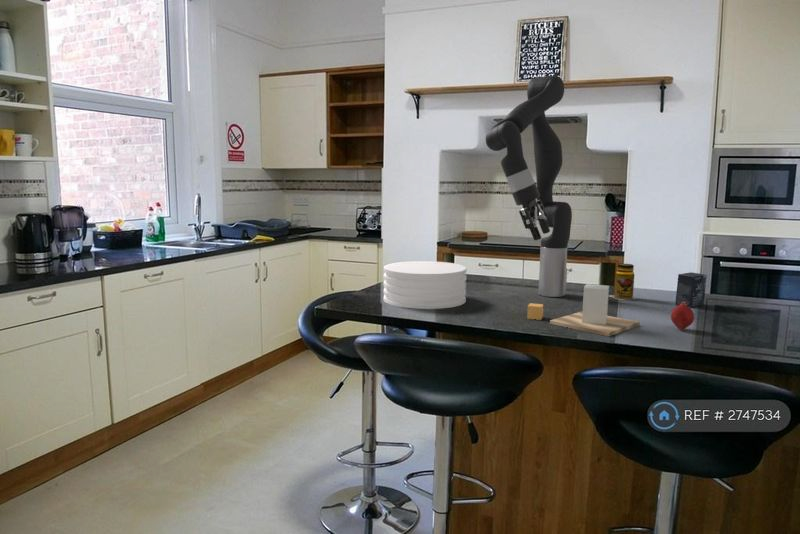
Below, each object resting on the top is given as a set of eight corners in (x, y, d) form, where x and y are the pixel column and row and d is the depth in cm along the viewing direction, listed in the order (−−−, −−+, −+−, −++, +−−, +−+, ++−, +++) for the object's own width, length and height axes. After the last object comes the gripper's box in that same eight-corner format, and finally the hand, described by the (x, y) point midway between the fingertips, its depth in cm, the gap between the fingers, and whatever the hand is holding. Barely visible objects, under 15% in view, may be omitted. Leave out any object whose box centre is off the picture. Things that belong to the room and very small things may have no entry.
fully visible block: (529, 316, 177) (530, 303, 177) (542, 317, 176) (543, 304, 175) (527, 319, 174) (527, 305, 173) (540, 320, 172) (541, 307, 171)
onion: (665, 327, 165) (667, 299, 164) (685, 327, 165) (687, 299, 164) (677, 332, 159) (679, 303, 158) (697, 332, 160) (699, 303, 158)
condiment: (622, 300, 200) (625, 266, 198) (605, 296, 208) (607, 262, 206) (639, 299, 203) (641, 265, 201) (621, 294, 211) (623, 261, 209)
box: (691, 308, 189) (694, 276, 188) (674, 305, 194) (677, 273, 192) (704, 305, 194) (707, 274, 192) (688, 302, 198) (690, 271, 197)
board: (582, 314, 180) (582, 311, 180) (639, 325, 167) (639, 321, 167) (549, 323, 168) (549, 320, 167) (608, 336, 155) (609, 332, 154)
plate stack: (435, 313, 180) (436, 277, 178) (366, 301, 197) (366, 267, 195) (480, 299, 202) (481, 266, 200) (415, 289, 219) (415, 258, 217)
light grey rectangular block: (583, 317, 171) (585, 284, 170) (606, 319, 169) (609, 285, 167) (581, 322, 165) (583, 287, 164) (605, 324, 163) (607, 289, 161)
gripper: (525, 186, 169) (546, 238, 170) (541, 178, 181) (560, 227, 182) (503, 195, 174) (523, 245, 175) (520, 187, 185) (539, 234, 186)
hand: (542, 236), depth 178 cm, fingers open, 8 cm apart
